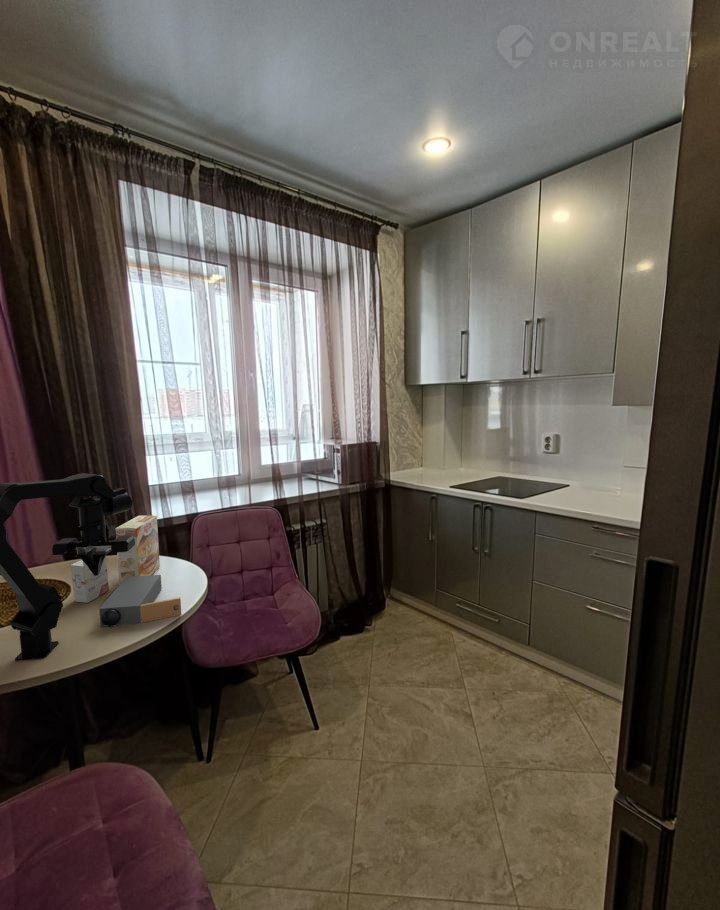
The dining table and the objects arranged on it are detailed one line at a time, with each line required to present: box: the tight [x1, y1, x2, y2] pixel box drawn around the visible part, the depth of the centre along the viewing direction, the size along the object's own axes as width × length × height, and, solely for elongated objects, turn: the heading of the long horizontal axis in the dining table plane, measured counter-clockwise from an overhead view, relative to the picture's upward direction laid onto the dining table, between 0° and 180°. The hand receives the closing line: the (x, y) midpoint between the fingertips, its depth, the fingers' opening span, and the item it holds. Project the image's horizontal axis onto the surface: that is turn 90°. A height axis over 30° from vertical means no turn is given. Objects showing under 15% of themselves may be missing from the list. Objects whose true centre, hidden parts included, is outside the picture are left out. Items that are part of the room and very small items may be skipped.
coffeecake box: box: [115, 515, 161, 586], centre depth 142 cm, size 15×7×20 cm, turn 1°
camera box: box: [98, 574, 163, 627], centre depth 122 cm, size 21×10×5 cm, turn 10°
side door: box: [141, 596, 182, 623], centre depth 116 cm, size 10×2×5 cm, turn 116°
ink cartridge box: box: [70, 551, 110, 604], centre depth 128 cm, size 9×5×15 cm, turn 168°
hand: (96, 575), depth 114 cm, fingers closed
